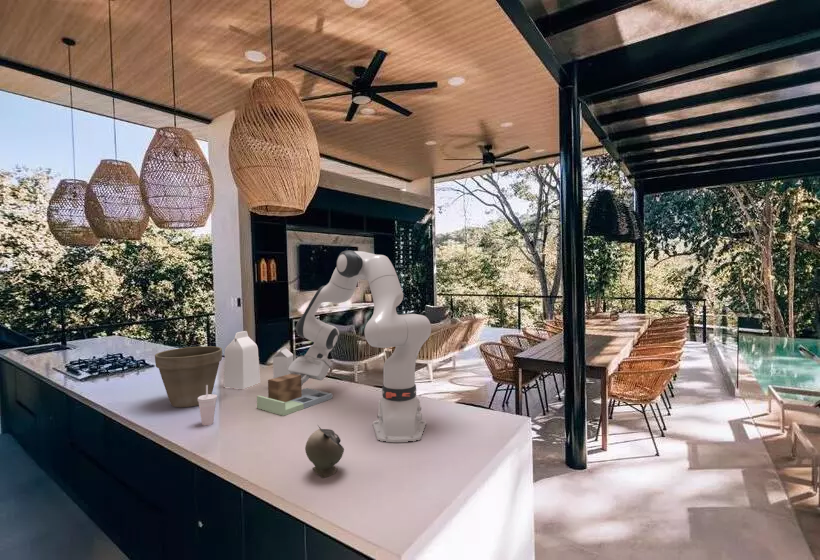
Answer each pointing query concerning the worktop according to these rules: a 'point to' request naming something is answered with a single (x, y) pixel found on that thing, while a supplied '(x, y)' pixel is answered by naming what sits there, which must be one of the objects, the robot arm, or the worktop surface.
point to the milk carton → (282, 362)
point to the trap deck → (293, 402)
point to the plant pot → (188, 373)
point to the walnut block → (285, 387)
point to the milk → (241, 362)
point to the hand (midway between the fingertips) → (298, 384)
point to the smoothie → (207, 407)
